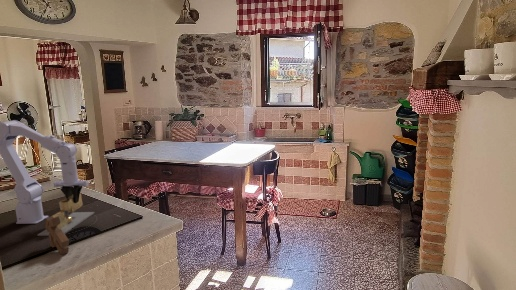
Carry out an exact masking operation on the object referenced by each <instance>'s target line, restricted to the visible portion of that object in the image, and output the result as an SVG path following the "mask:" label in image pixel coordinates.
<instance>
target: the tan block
mask: <svg viewBox="0 0 516 290" xmlns="http://www.w3.org/2000/svg"><path fill="white" fill-rule="evenodd" d="M58 204H59V208H60V212H65V211H68V214H69V213H70V214H72V213H73V212H76V211H77V210H79V209H80V208H82V207H83V206H84V203H83V199H82V192H80V195H79V202H77V203H74V199H73V194H72V196H70V197H69V198H65V199H63V200H60V201H59V203H58Z"/></svg>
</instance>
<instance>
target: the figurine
mask: <svg viewBox="0 0 516 290" xmlns="http://www.w3.org/2000/svg"><path fill="white" fill-rule="evenodd" d="M60 223H61V222H60V219H59V217H55V218H53V215H51V216H49V217H47V218H45V230H47V231H48V232H50V233H49V236H48V238H49V245H50V247H52V248H56V249H57V250H58V253H59V254H60V255H61V256H62V255H66V254H68V253H69V249H70V248H69V244H70V239H69V238H68V236H67V235H66V233H65V234H64V232H62V230H61V229H59V228H58V225H59V224H60Z"/></svg>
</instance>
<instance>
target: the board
mask: <svg viewBox="0 0 516 290" xmlns="http://www.w3.org/2000/svg"><path fill="white" fill-rule="evenodd" d="M94 214H95V211H84V212H83V211H81V212H80V211H79V212H78V211H77V212H76V211H74V212H72V213H70V214H68V215H69V216H72V223H69V224H67V225H66V226H64V227H63V228H61V230H62V232H64V234H65V235H66V234H67V233H68V232H70V231H72V228H73V229H74V228H76V227H77V226H78V225H80V224H82V222H84V221H85V220H87V219H88V218H90V217H91V216H93V215H94ZM49 233H50V232H48V231H47V230H46V229H44V230H42V231H41V232H39V233H37V237H49Z"/></svg>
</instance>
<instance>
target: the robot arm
mask: <svg viewBox="0 0 516 290" xmlns="http://www.w3.org/2000/svg"><path fill="white" fill-rule="evenodd" d="M19 136H22V137H25V138H28V139H29V140H32V141H35V142H36V143H40V146H41V148H44V149H45V150H48V152H52V153H54V154H56V157H57V158H58V159H59V162H60V168H61V176H62V180H60V181H54V182H53V188H59V187H60V191H61V193H63V195H64V196H65V199H67V198H69V197H70V196H72V195H73V199H74V203H77V202H79V195H80V193H82V192H81V191H82V189H83V187H89V186H90V183H89V180H79V176H78V175H79V173H78V169H77V161H76V154H77V153H78V148H77V145H75V144H73V142H66V141H65V140H60V139H58V138H57V137H56V136H55V135H53V134H52V135H49V134H47V135H44V134H42V133H40V132H38V131H36V130H35V129H33V128H31V127H29V126H27V125H26V124H25V123H24V122H20V121H18V119H17V120H16V119H13V120H8V121H3V122H1V121H0V157H1V158H2V160H3V161H4V164H5V165H6V167H7V169H8V171H9V172H10V174H11V176H12V178H13V180H14V181H15V186H14V192H15V197H16V200H17V201H18V202H17V203H16V205H15V213H16V222H15V223H16V224H17V225H18V224H23V225H24V224H27V225H28V224H31V225H32V224H38V223H40V222H42V221H44V220H46V218H48V217H50V216H49V215H44V209H43V204H42V203H43V202H42V195H43V194H44V188H43V185H42V184H40V183H39V182H38V181H37V179H35V178H33V177H31V176H30V174H29V172H28V171H27V170H28V169H26V167H25V165H24V162H23V161H22V159H21V158H20V156H19V154H18V152H17V150H16V149H15V147H14V145H13V144H14V142H15V141H16V139H17V138H18V137H19Z"/></svg>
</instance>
